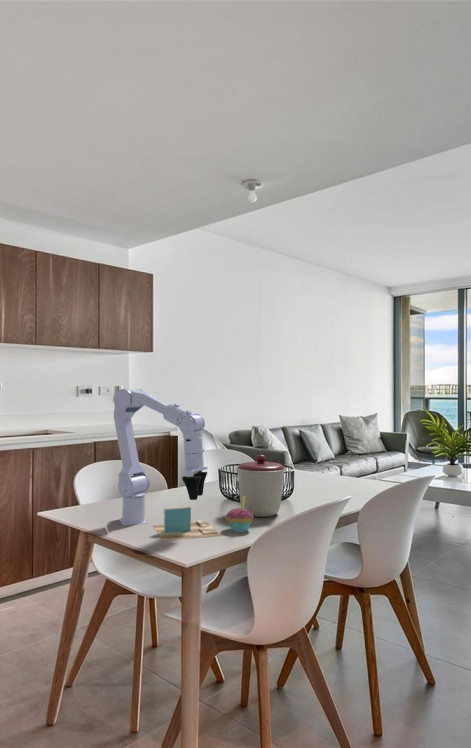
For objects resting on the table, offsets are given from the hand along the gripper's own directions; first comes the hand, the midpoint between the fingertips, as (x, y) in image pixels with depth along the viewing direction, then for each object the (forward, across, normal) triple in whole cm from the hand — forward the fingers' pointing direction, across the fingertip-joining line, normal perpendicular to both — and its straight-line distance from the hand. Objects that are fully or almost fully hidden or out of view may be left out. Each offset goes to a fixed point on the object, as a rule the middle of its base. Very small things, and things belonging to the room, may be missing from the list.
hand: (196, 497), depth 164 cm
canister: (+12, +29, -16) cm, 35 cm away
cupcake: (+12, +4, -12) cm, 18 cm away
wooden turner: (+10, +4, -1) cm, 11 cm away
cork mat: (+10, 0, +4) cm, 11 cm away
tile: (+10, -1, +6) cm, 12 cm away
